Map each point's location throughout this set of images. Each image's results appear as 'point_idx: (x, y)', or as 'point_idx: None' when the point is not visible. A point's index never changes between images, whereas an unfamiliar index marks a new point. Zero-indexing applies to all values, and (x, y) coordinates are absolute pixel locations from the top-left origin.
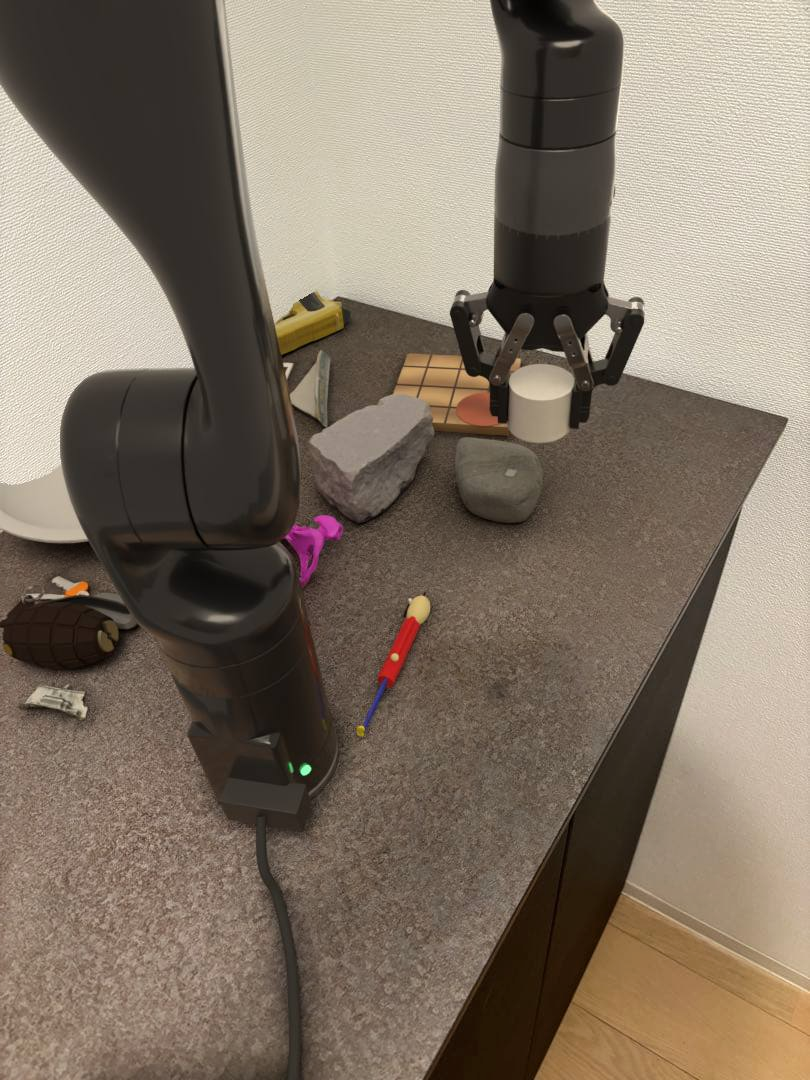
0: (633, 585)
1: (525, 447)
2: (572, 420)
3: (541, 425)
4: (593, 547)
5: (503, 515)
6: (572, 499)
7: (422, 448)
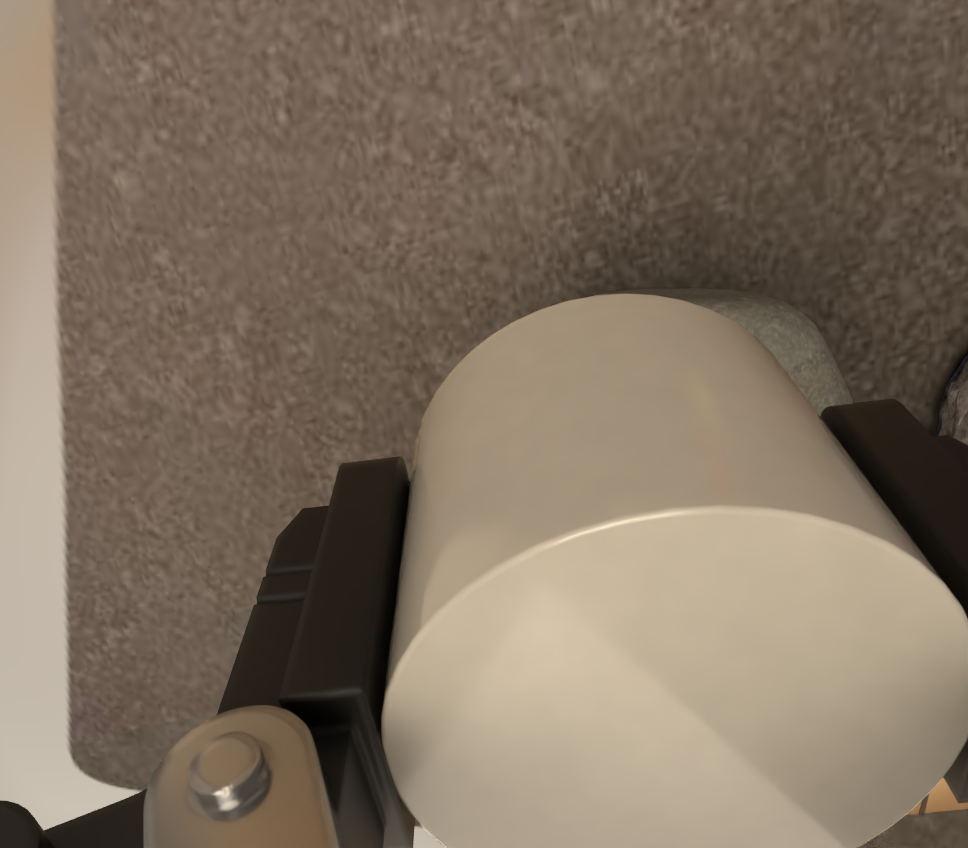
0: (198, 144)
1: None
2: (379, 492)
3: (582, 369)
4: (357, 270)
5: (647, 290)
6: None
7: None
